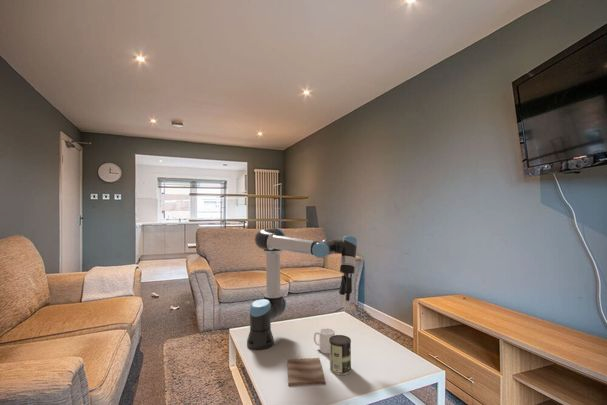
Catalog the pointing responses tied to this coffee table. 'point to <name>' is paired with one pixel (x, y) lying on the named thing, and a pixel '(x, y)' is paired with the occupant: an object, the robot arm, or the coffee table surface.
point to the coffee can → (340, 354)
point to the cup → (324, 339)
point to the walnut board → (305, 371)
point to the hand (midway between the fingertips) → (343, 307)
